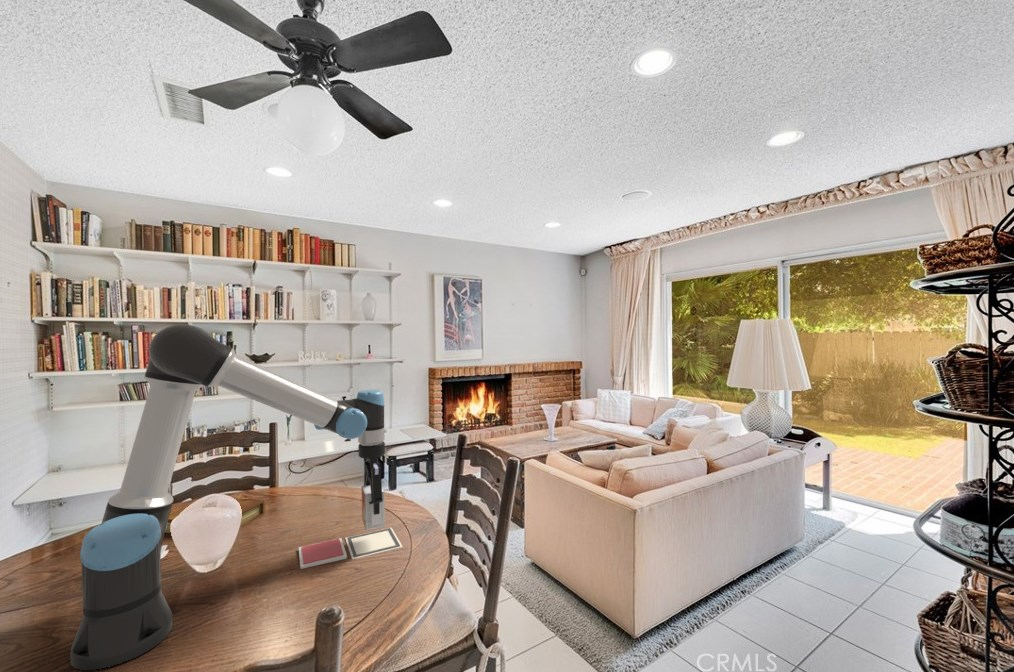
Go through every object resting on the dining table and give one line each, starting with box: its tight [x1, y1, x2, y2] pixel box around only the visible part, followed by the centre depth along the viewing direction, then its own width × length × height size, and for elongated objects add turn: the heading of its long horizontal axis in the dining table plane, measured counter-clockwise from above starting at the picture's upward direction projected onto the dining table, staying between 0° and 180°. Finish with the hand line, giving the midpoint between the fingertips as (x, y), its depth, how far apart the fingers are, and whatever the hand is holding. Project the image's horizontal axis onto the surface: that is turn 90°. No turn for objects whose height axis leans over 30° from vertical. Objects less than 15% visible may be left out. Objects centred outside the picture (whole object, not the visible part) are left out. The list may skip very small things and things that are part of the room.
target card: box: [344, 527, 404, 560], centre depth 128 cm, size 14×14×1 cm
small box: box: [361, 485, 386, 531], centre depth 128 cm, size 8×6×10 cm
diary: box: [165, 497, 266, 534], centre depth 142 cm, size 23×19×6 cm
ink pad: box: [298, 537, 348, 570], centre depth 121 cm, size 12×12×2 cm
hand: (373, 518), depth 128 cm, fingers closed on small box, 8 cm apart
